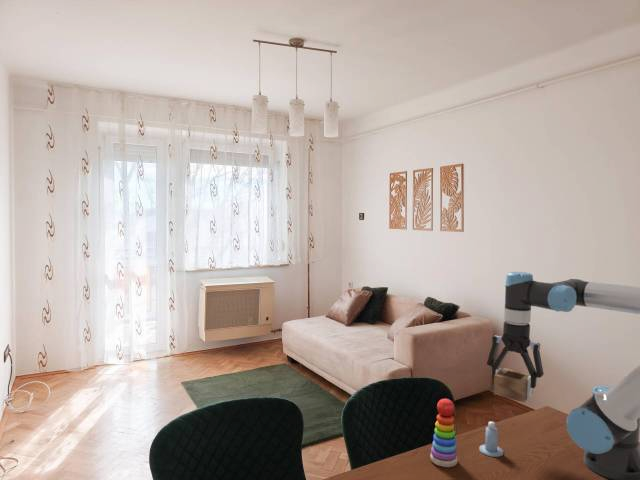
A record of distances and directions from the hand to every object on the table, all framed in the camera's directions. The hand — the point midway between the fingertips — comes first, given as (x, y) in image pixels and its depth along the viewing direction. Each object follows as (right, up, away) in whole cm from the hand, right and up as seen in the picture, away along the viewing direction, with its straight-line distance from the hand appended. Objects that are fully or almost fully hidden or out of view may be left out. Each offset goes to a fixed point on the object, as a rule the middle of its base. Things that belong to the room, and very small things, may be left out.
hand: (513, 392), depth 144 cm
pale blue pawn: (-7, -18, -1) cm, 19 cm away
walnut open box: (0, 0, 0) cm, 0 cm away
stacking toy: (-23, -18, -7) cm, 31 cm away
